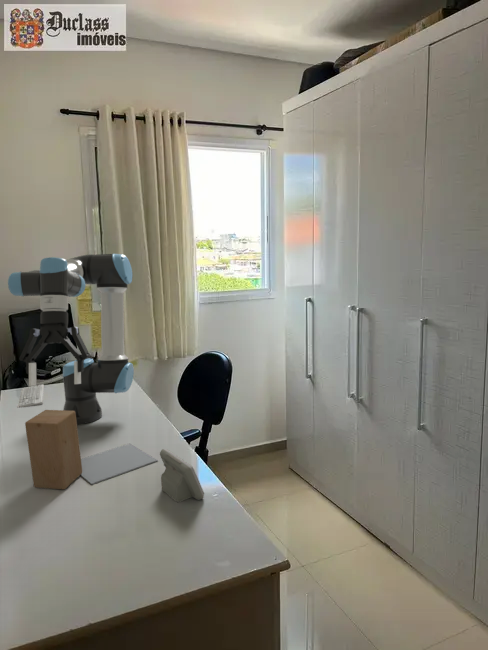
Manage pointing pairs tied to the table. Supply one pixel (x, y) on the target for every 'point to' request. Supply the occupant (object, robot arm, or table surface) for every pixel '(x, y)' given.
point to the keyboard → (31, 396)
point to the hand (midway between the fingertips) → (55, 384)
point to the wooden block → (54, 449)
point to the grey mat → (114, 463)
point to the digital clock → (179, 478)
